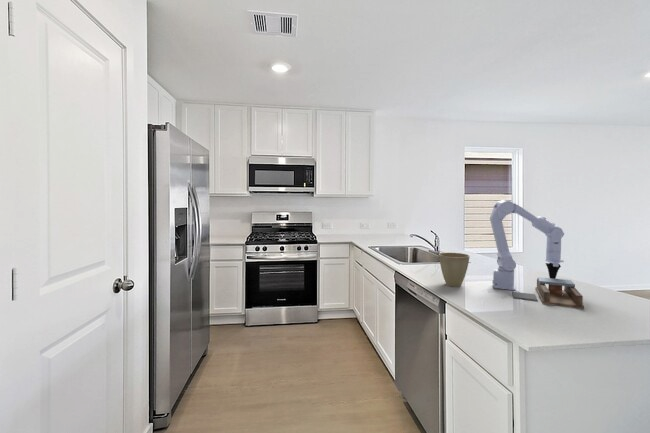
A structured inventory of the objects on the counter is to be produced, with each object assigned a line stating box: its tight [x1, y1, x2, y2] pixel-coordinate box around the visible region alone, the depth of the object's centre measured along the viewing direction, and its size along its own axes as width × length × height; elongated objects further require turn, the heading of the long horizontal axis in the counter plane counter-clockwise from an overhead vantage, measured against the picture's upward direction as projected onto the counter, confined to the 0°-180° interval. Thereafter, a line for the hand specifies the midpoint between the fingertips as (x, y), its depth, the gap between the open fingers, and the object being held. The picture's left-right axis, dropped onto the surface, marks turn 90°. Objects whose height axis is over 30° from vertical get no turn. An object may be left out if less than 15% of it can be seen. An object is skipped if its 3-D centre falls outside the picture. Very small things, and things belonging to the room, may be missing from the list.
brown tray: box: [535, 278, 585, 309], centre depth 141 cm, size 14×23×5 cm, turn 152°
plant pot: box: [438, 252, 471, 287], centre depth 163 cm, size 15×15×16 cm
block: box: [547, 284, 563, 295], centre depth 146 cm, size 4×4×5 cm
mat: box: [511, 291, 538, 302], centre depth 143 cm, size 9×9×1 cm
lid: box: [537, 276, 576, 288], centre depth 146 cm, size 13×8×1 cm, turn 62°
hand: (552, 278), depth 152 cm, fingers closed
